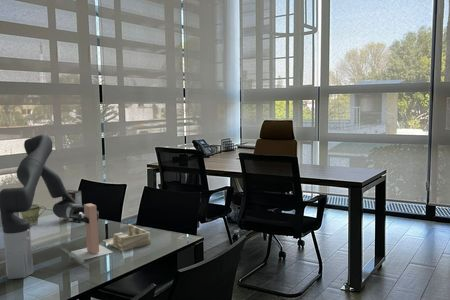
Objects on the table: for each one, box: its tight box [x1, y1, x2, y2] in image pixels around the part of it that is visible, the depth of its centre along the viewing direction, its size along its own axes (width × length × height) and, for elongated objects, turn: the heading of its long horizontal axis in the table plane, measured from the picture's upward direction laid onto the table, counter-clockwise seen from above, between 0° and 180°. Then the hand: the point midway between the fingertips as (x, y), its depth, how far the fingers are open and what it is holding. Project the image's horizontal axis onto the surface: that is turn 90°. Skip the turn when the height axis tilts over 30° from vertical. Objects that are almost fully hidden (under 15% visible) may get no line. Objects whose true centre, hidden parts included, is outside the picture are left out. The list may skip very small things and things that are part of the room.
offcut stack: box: [112, 232, 128, 248], centre depth 191 cm, size 8×4×4 cm, turn 39°
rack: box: [102, 223, 151, 251], centre depth 196 cm, size 20×14×6 cm
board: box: [83, 203, 100, 254], centre depth 181 cm, size 6×3×20 cm, turn 39°
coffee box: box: [61, 189, 83, 221], centre depth 248 cm, size 9×6×16 cm
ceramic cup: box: [20, 203, 46, 226], centre depth 240 cm, size 13×10×10 cm
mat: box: [70, 244, 113, 264], centre depth 183 cm, size 14×13×2 cm
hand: (92, 220), depth 180 cm, fingers closed on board, 3 cm apart
